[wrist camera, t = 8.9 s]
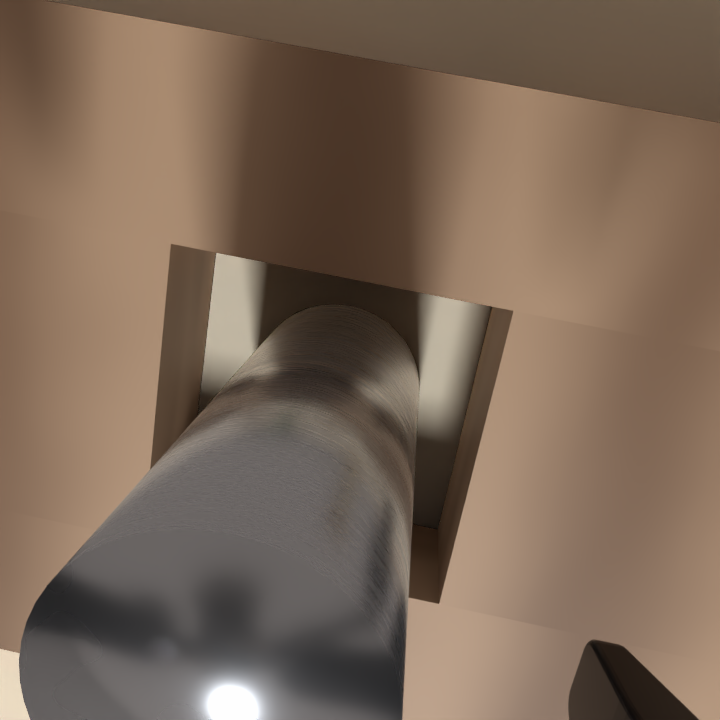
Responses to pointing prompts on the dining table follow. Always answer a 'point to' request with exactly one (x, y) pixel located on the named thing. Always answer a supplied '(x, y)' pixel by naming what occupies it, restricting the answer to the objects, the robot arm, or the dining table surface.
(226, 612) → the long pin
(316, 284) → the dining table surface
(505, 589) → the board
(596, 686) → the robot arm
